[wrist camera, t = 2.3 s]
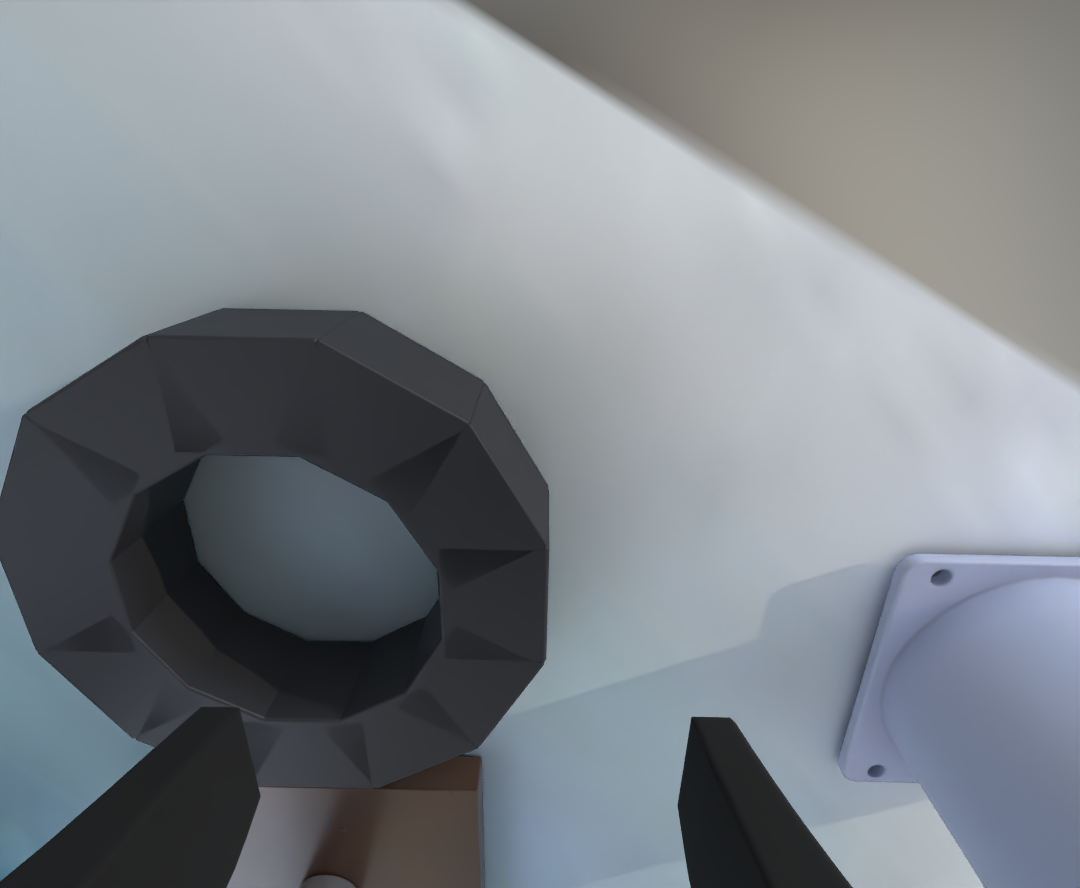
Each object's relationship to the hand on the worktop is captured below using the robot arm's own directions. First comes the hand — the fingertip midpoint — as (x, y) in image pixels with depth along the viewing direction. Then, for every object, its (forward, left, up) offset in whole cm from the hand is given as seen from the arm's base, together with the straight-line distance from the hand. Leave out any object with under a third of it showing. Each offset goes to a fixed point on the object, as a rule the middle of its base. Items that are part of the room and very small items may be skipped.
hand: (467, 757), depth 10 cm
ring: (+5, 0, -7) cm, 8 cm away
